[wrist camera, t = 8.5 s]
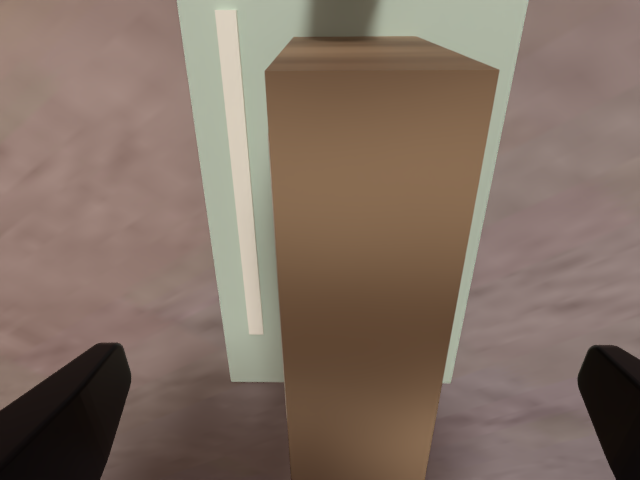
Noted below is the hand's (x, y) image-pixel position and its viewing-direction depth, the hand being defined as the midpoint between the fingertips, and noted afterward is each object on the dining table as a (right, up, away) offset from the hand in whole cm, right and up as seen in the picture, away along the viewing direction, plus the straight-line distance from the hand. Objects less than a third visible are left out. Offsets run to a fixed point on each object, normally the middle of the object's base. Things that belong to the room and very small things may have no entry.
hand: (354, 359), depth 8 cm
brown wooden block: (0, +4, +7) cm, 8 cm away
